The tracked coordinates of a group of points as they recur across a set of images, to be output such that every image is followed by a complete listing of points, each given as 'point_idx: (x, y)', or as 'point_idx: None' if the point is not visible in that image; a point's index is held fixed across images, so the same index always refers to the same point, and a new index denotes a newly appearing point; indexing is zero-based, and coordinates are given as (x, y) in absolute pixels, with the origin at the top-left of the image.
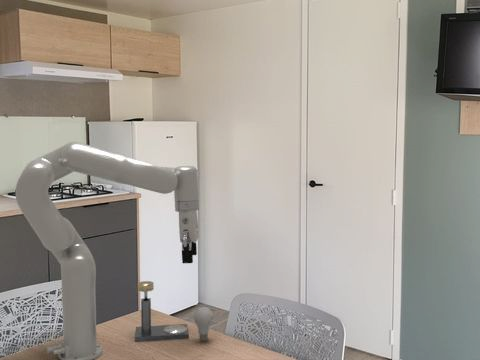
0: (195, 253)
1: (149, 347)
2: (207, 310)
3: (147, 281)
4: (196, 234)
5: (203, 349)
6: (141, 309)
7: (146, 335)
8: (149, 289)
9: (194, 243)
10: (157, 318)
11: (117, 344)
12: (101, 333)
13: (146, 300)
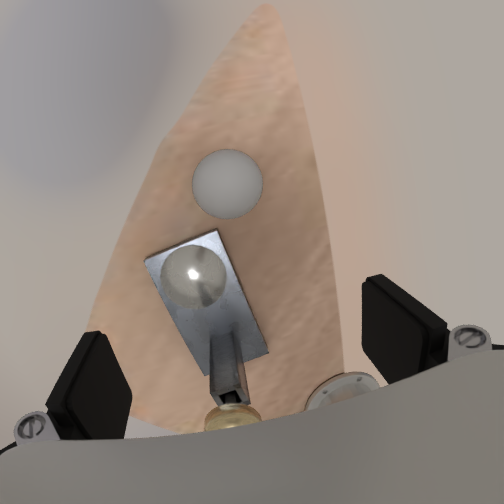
0: (103, 342)
1: (293, 303)
2: (239, 165)
3: None
4: (464, 481)
5: (279, 166)
6: (247, 387)
7: (252, 333)
8: (252, 411)
9: (67, 415)
10: None
11: (288, 371)
12: None
13: (234, 395)
